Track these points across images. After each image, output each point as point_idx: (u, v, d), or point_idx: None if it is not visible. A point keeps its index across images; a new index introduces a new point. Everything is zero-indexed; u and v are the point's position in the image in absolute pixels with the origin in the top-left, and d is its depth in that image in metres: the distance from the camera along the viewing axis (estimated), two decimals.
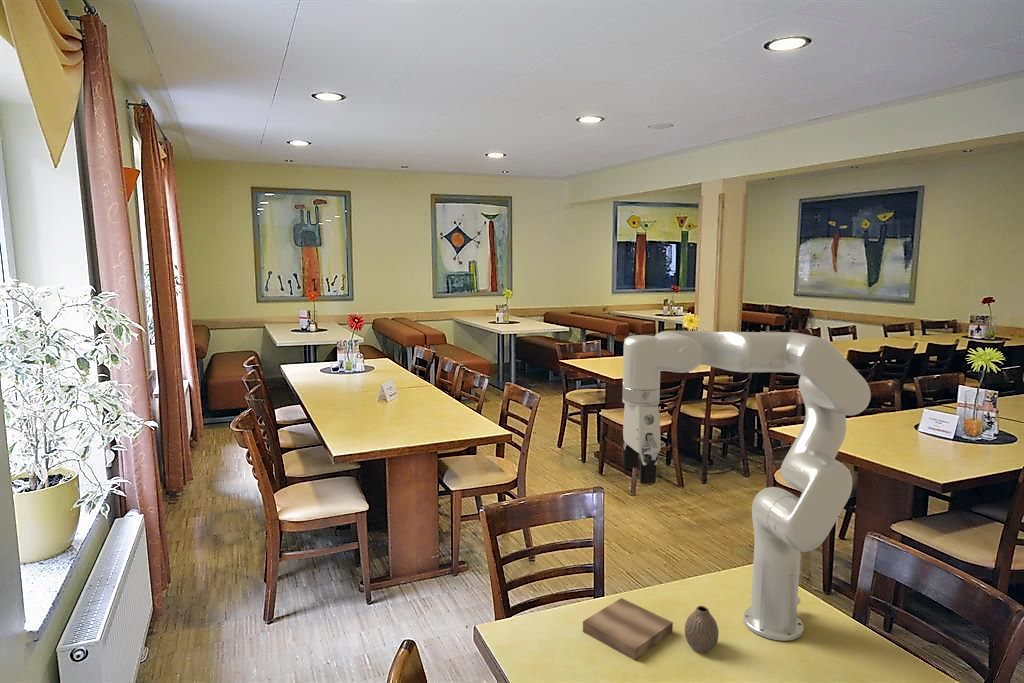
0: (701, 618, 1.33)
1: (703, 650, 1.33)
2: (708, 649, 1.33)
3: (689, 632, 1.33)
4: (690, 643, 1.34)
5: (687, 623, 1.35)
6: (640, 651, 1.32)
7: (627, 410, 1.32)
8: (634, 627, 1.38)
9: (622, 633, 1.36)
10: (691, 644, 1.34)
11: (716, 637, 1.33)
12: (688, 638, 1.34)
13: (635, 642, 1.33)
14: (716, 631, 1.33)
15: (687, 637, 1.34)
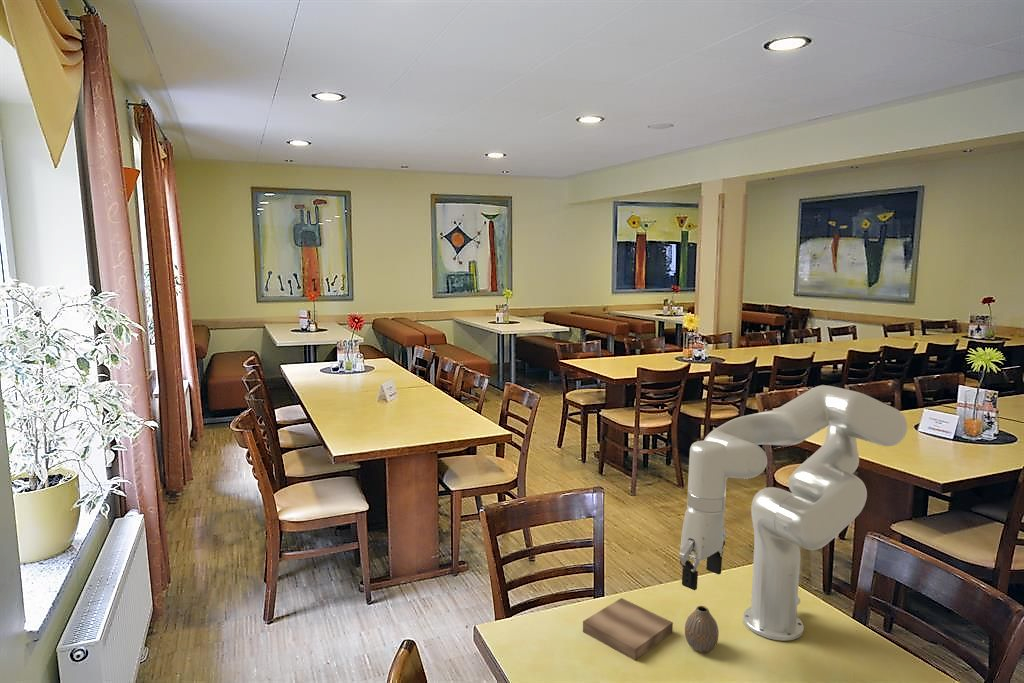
0: (701, 618, 1.33)
1: (703, 650, 1.33)
2: (708, 649, 1.33)
3: (689, 632, 1.33)
4: (690, 643, 1.34)
5: (687, 623, 1.35)
6: (640, 651, 1.32)
7: (713, 521, 1.29)
8: (634, 627, 1.38)
9: (622, 633, 1.36)
10: (691, 644, 1.34)
11: (716, 637, 1.33)
12: (688, 638, 1.34)
13: (635, 642, 1.33)
14: (716, 631, 1.33)
15: (687, 637, 1.34)
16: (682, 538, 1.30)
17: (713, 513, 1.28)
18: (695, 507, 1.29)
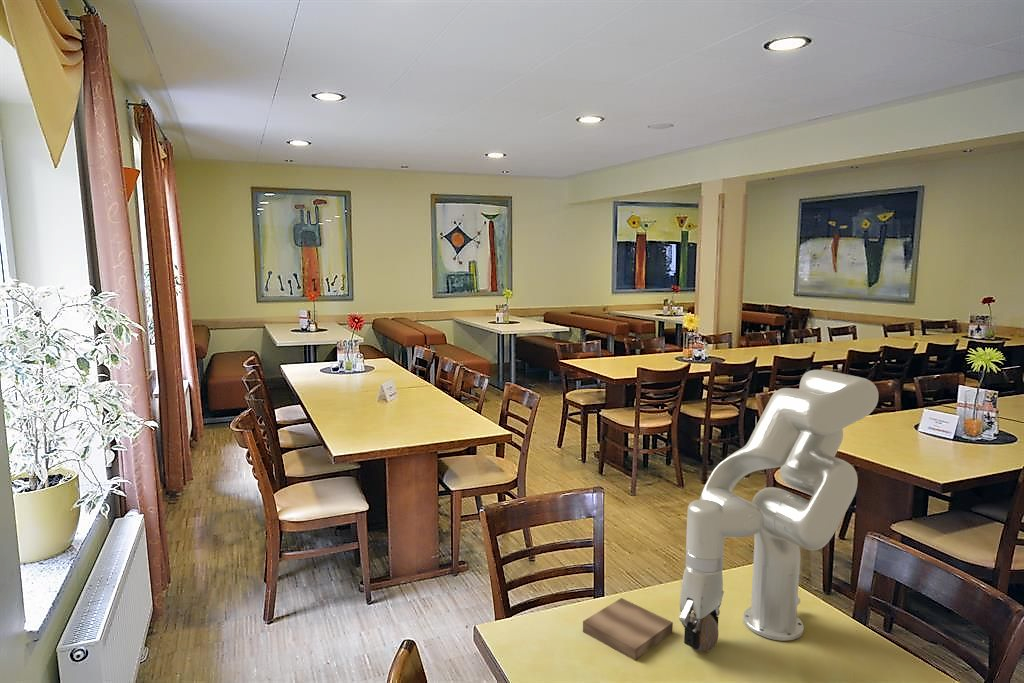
0: None
1: (703, 650, 1.33)
2: (708, 649, 1.33)
3: None
4: None
5: None
6: (640, 651, 1.32)
7: (712, 580, 1.31)
8: (634, 627, 1.38)
9: (622, 633, 1.36)
10: None
11: (716, 637, 1.33)
12: None
13: (635, 642, 1.33)
14: (716, 631, 1.33)
15: None
16: (681, 597, 1.32)
17: (711, 573, 1.29)
18: (693, 567, 1.31)
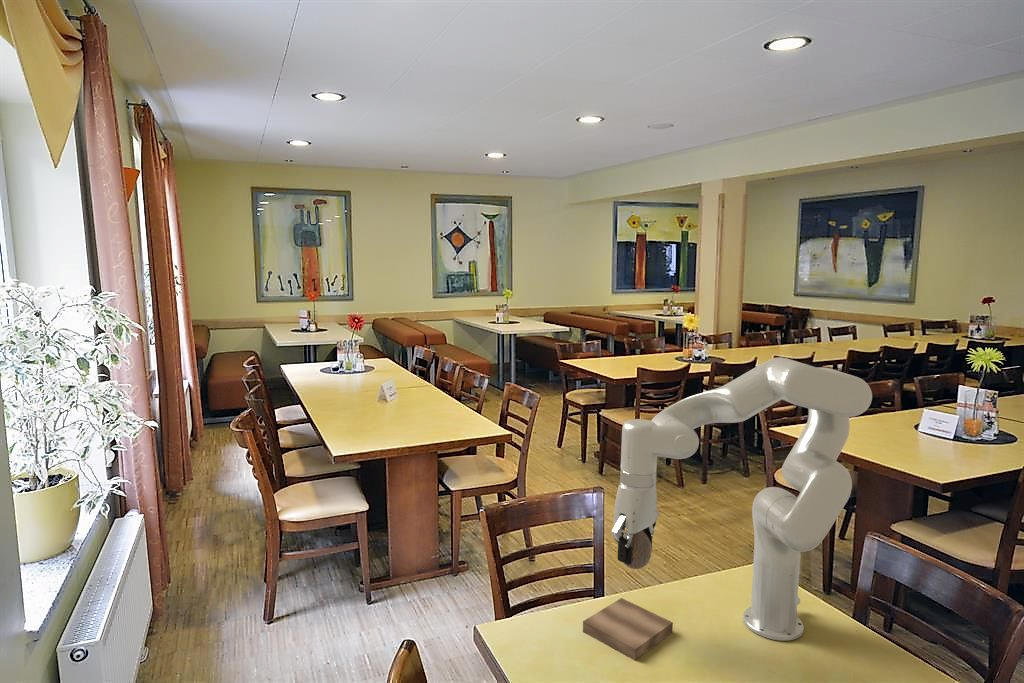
0: (634, 535, 1.36)
1: (635, 566, 1.35)
2: (640, 565, 1.35)
3: None
4: None
5: None
6: (640, 651, 1.32)
7: (644, 497, 1.34)
8: (634, 627, 1.38)
9: (622, 633, 1.36)
10: None
11: (648, 553, 1.35)
12: None
13: (635, 642, 1.33)
14: (649, 548, 1.35)
15: None
16: (614, 513, 1.35)
17: (643, 488, 1.32)
18: (626, 483, 1.33)
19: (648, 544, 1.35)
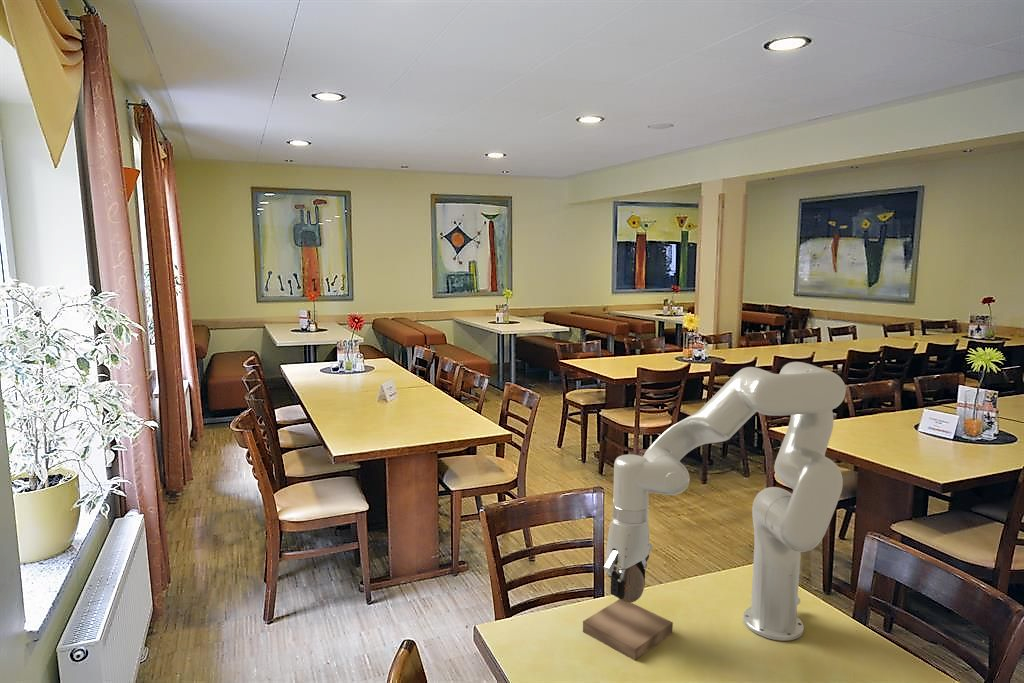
0: (626, 569, 1.37)
1: (628, 600, 1.37)
2: (633, 599, 1.37)
3: None
4: None
5: None
6: (640, 651, 1.32)
7: (636, 532, 1.35)
8: (634, 627, 1.38)
9: (622, 633, 1.36)
10: None
11: (641, 587, 1.37)
12: None
13: (635, 642, 1.33)
14: (641, 582, 1.37)
15: None
16: (607, 548, 1.36)
17: (635, 524, 1.34)
18: (618, 518, 1.35)
19: (640, 578, 1.37)
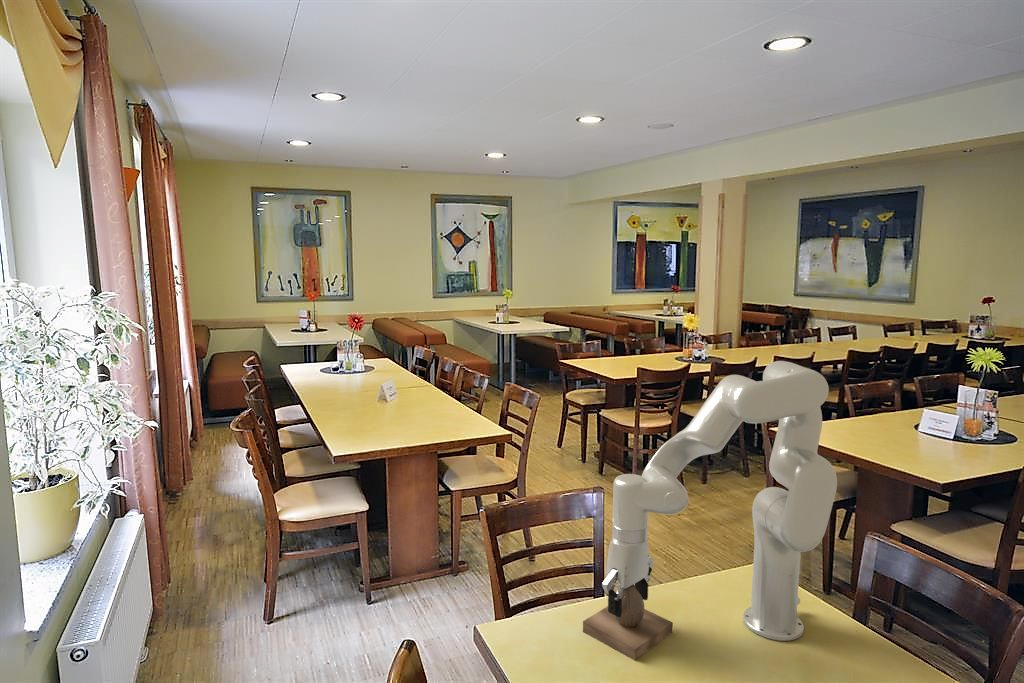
0: (626, 593, 1.38)
1: (629, 624, 1.37)
2: (633, 623, 1.37)
3: None
4: (617, 618, 1.39)
5: None
6: (640, 651, 1.32)
7: (636, 551, 1.36)
8: (634, 627, 1.38)
9: (622, 633, 1.36)
10: (617, 619, 1.38)
11: (641, 612, 1.37)
12: None
13: (635, 642, 1.33)
14: (641, 606, 1.38)
15: None
16: (607, 567, 1.37)
17: (635, 544, 1.34)
18: (618, 538, 1.35)
19: (641, 602, 1.38)
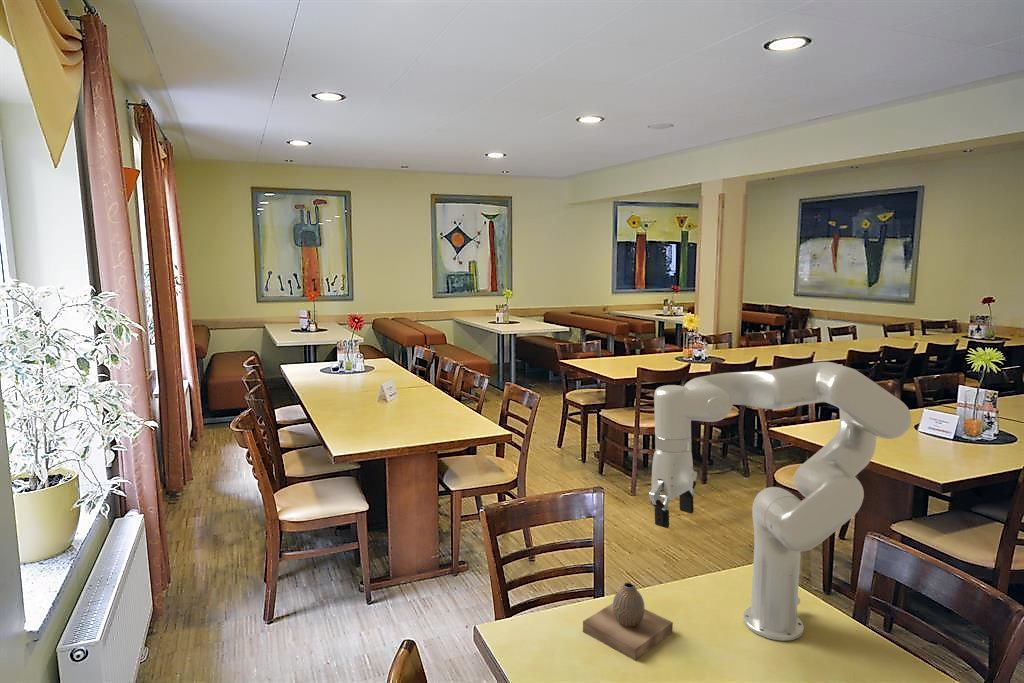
0: (626, 593, 1.38)
1: (629, 625, 1.37)
2: (633, 624, 1.37)
3: (615, 607, 1.38)
4: (617, 618, 1.39)
5: (614, 599, 1.40)
6: (640, 651, 1.32)
7: (681, 461, 1.35)
8: (634, 627, 1.38)
9: (622, 633, 1.36)
10: (617, 619, 1.38)
11: (641, 612, 1.37)
12: (615, 613, 1.39)
13: (635, 642, 1.33)
14: (642, 607, 1.38)
15: (614, 612, 1.39)
16: (652, 479, 1.36)
17: (679, 453, 1.33)
18: (662, 449, 1.34)
19: (641, 603, 1.38)
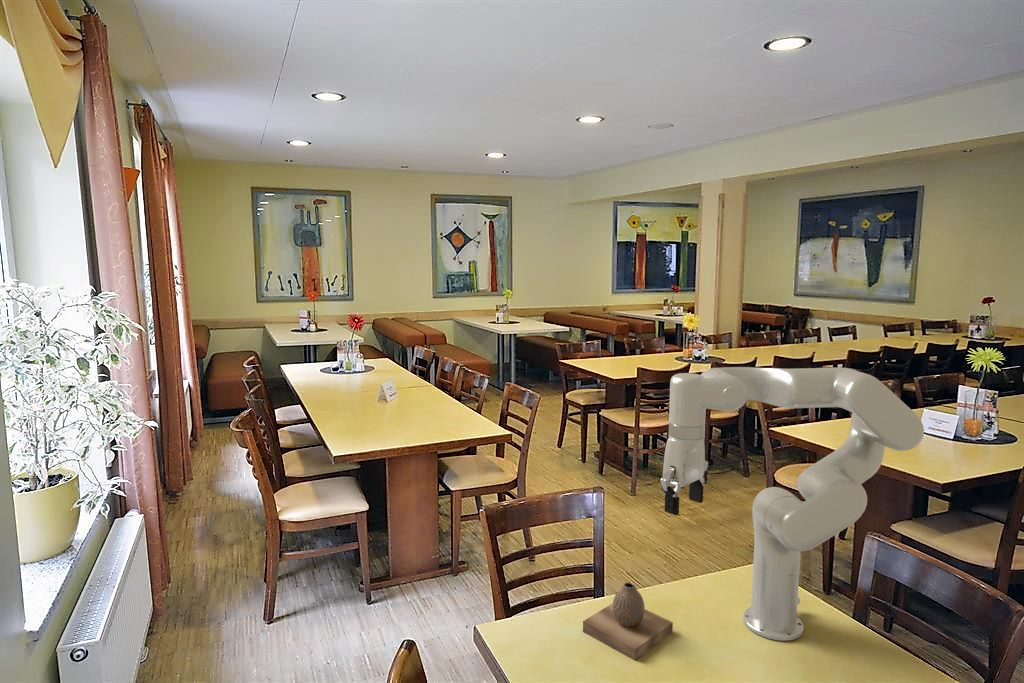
0: (626, 593, 1.38)
1: (629, 625, 1.37)
2: (633, 624, 1.37)
3: (615, 607, 1.38)
4: (617, 618, 1.39)
5: (614, 599, 1.40)
6: (640, 651, 1.32)
7: (694, 449, 1.35)
8: (634, 627, 1.38)
9: (622, 633, 1.36)
10: (617, 619, 1.38)
11: (641, 612, 1.37)
12: (615, 613, 1.39)
13: (635, 642, 1.33)
14: (642, 607, 1.38)
15: (614, 612, 1.39)
16: (664, 466, 1.36)
17: (693, 440, 1.33)
18: (676, 436, 1.34)
19: (641, 603, 1.38)
